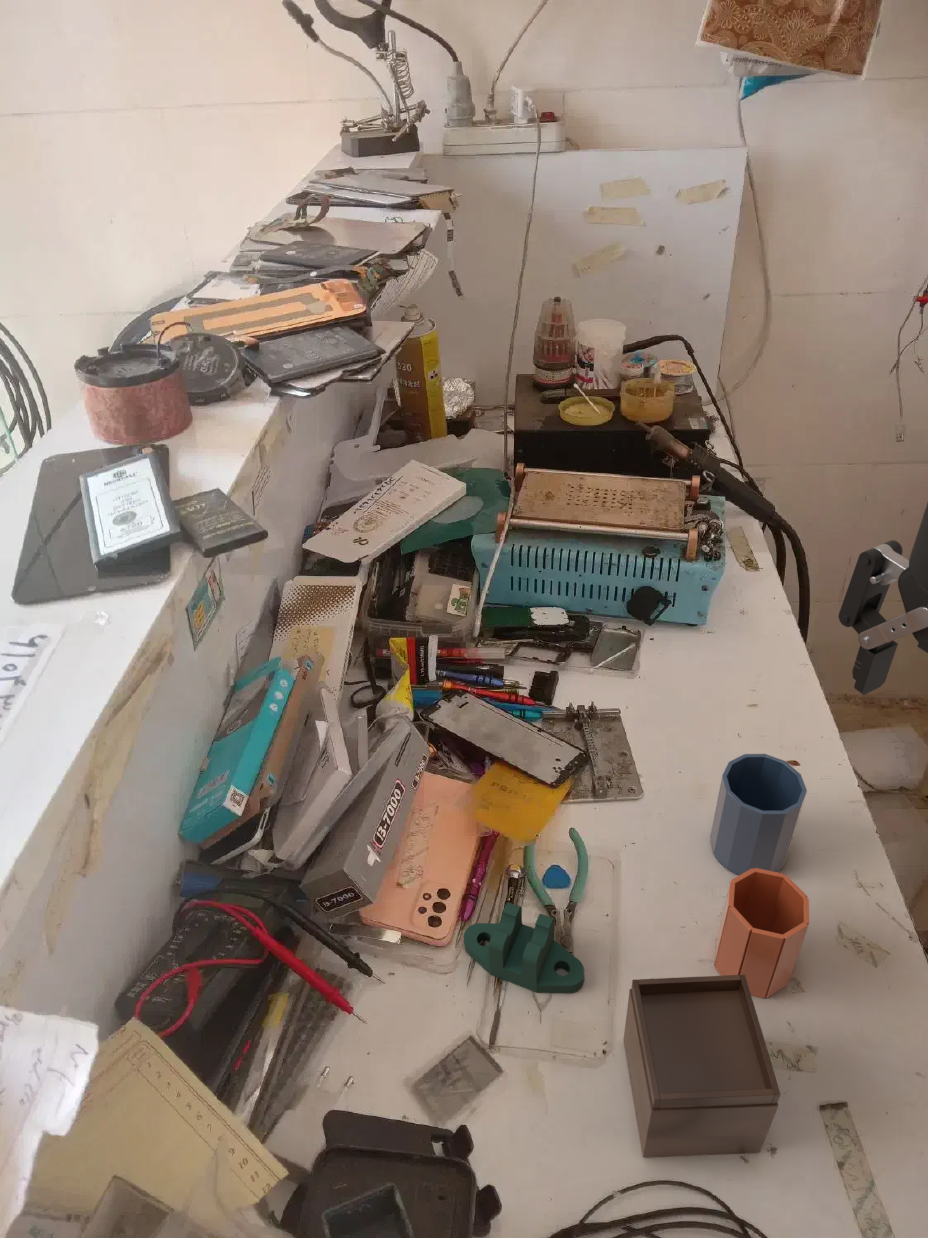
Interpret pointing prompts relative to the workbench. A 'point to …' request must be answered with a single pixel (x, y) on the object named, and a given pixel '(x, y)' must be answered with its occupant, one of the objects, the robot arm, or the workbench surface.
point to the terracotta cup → (762, 930)
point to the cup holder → (698, 1066)
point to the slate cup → (756, 813)
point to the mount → (524, 953)
